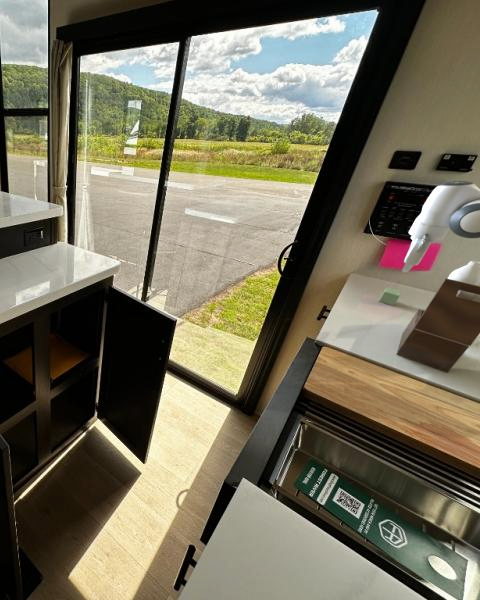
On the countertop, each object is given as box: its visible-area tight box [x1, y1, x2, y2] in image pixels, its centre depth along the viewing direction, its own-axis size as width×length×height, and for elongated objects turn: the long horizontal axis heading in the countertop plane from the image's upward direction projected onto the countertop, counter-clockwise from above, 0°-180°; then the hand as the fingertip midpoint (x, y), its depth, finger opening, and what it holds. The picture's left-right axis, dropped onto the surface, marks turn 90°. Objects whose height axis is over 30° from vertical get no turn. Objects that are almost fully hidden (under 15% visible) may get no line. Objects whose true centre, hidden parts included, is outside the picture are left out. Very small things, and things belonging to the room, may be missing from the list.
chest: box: [396, 308, 470, 374], centre depth 96 cm, size 15×11×10 cm
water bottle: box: [447, 259, 480, 286], centre depth 101 cm, size 9×6×25 cm
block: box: [378, 286, 402, 307], centre depth 121 cm, size 4×4×4 cm
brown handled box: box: [414, 277, 480, 347], centre depth 84 cm, size 16×11×5 cm
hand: (406, 267), depth 115 cm, fingers open, 8 cm apart
